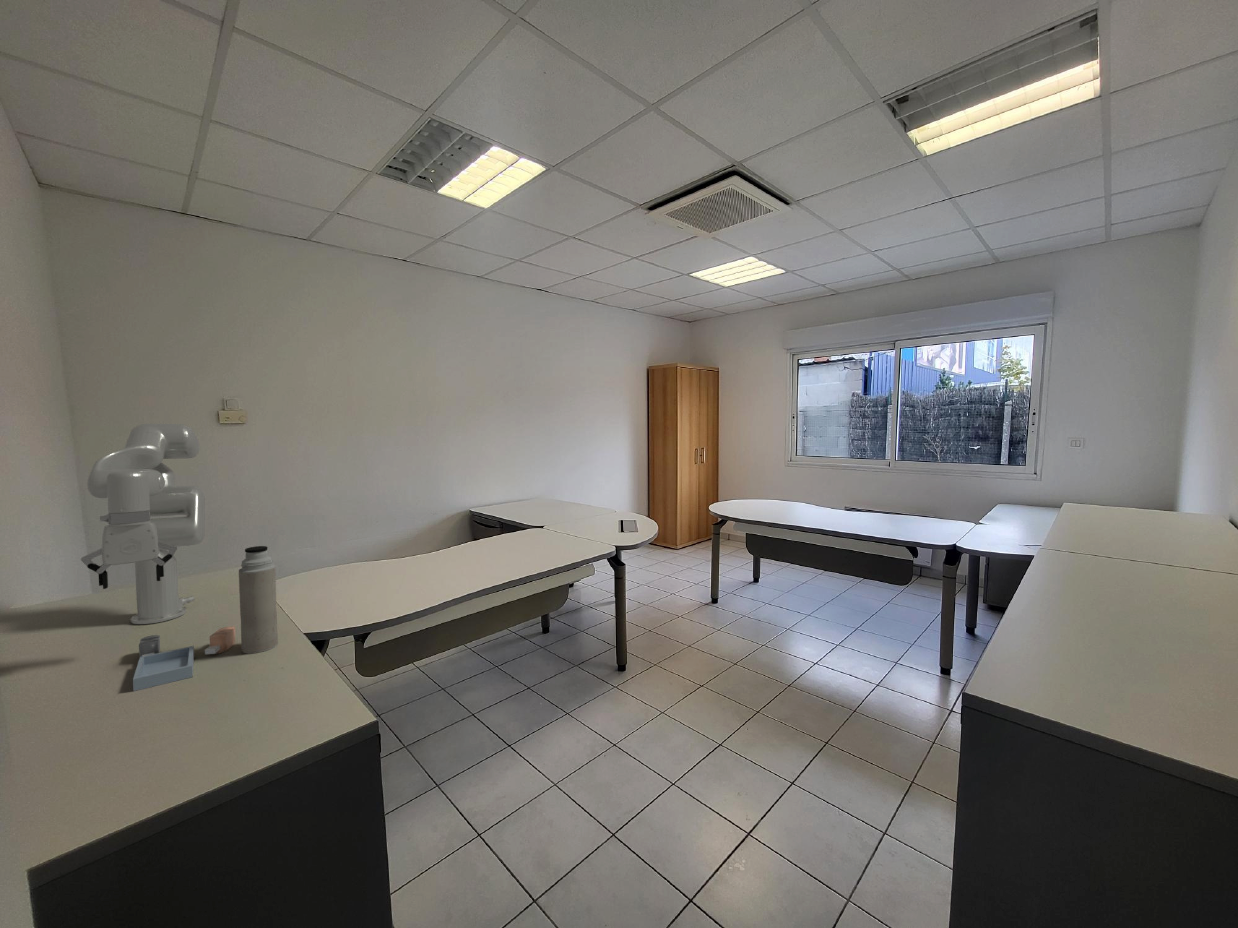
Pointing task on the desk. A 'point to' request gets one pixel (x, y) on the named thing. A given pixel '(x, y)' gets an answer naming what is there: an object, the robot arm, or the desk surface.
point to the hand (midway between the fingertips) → (132, 583)
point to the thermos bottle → (258, 601)
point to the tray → (164, 668)
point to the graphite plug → (149, 645)
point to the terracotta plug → (221, 640)
